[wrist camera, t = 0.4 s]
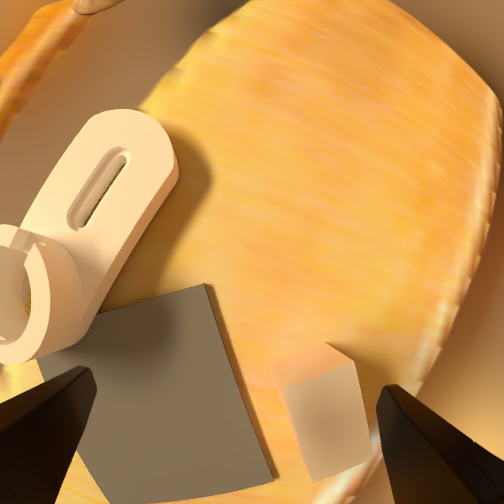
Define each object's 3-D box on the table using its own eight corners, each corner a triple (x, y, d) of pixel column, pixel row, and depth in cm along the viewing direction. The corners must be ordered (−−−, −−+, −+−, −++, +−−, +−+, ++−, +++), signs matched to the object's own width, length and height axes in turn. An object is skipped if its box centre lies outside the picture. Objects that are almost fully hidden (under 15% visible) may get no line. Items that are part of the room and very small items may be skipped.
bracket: (68, 370, 20) (22, 392, 13) (1, 306, 20) (-49, 308, 13) (197, 153, 23) (187, 106, 16) (116, 110, 23) (90, 64, 16)
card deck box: (344, 423, 22) (373, 457, 16) (294, 442, 22) (312, 483, 16) (323, 341, 23) (354, 361, 17) (268, 361, 22) (282, 388, 16)
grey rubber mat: (273, 477, 21) (274, 481, 21) (112, 501, 20) (110, 504, 19) (204, 283, 22) (203, 283, 22) (31, 332, 21) (28, 333, 20)
